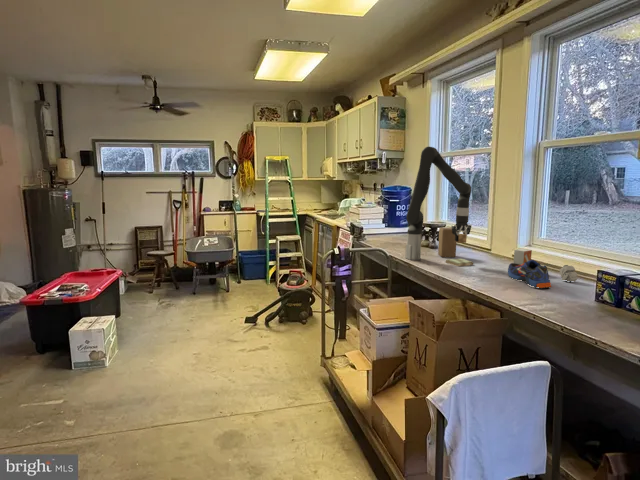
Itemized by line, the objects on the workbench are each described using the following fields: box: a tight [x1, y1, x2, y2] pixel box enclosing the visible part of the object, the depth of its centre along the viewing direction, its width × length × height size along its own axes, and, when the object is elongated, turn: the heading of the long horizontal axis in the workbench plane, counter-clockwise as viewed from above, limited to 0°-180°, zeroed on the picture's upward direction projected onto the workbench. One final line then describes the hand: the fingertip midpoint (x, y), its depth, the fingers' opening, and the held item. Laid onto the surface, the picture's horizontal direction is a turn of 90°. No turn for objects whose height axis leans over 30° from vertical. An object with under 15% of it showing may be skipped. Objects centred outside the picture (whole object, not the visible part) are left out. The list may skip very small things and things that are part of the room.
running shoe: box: [507, 259, 552, 289], centre depth 221 cm, size 12×32×13 cm, turn 8°
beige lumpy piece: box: [559, 264, 578, 282], centre depth 222 cm, size 6×7×10 cm
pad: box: [445, 258, 474, 267], centre depth 267 cm, size 12×12×2 cm
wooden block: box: [437, 226, 457, 258], centre depth 290 cm, size 10×10×20 cm
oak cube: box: [455, 233, 468, 244], centre depth 264 cm, size 5×5×5 cm
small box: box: [513, 248, 532, 265], centre depth 245 cm, size 8×6×13 cm
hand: (460, 241), depth 265 cm, fingers closed on oak cube, 5 cm apart
